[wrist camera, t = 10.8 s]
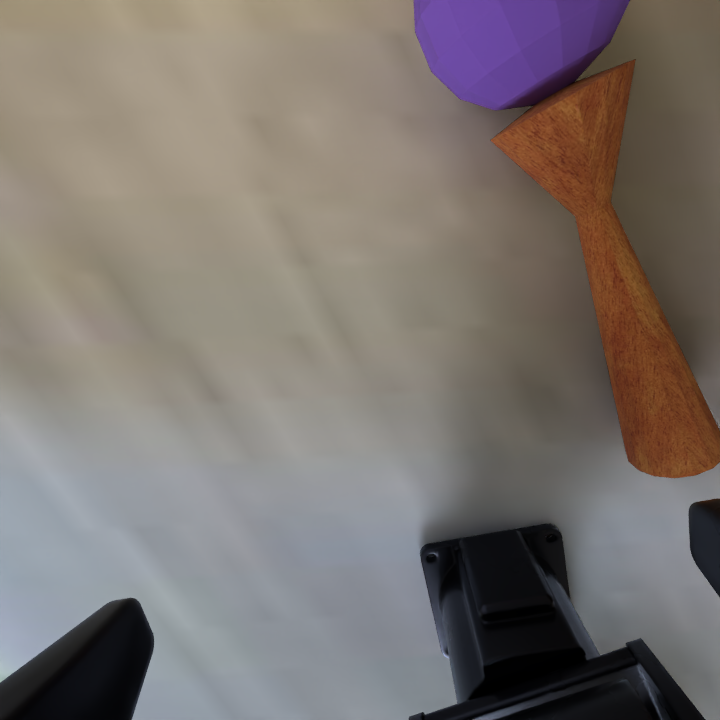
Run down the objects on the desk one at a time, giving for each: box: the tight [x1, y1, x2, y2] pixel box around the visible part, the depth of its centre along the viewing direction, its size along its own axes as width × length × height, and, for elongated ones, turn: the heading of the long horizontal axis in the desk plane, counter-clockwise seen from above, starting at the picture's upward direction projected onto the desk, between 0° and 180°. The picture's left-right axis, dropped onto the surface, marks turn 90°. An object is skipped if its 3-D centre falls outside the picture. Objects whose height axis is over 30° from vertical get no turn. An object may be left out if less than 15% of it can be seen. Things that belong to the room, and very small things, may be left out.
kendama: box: [414, 0, 720, 478], centre depth 14 cm, size 6×6×20 cm
